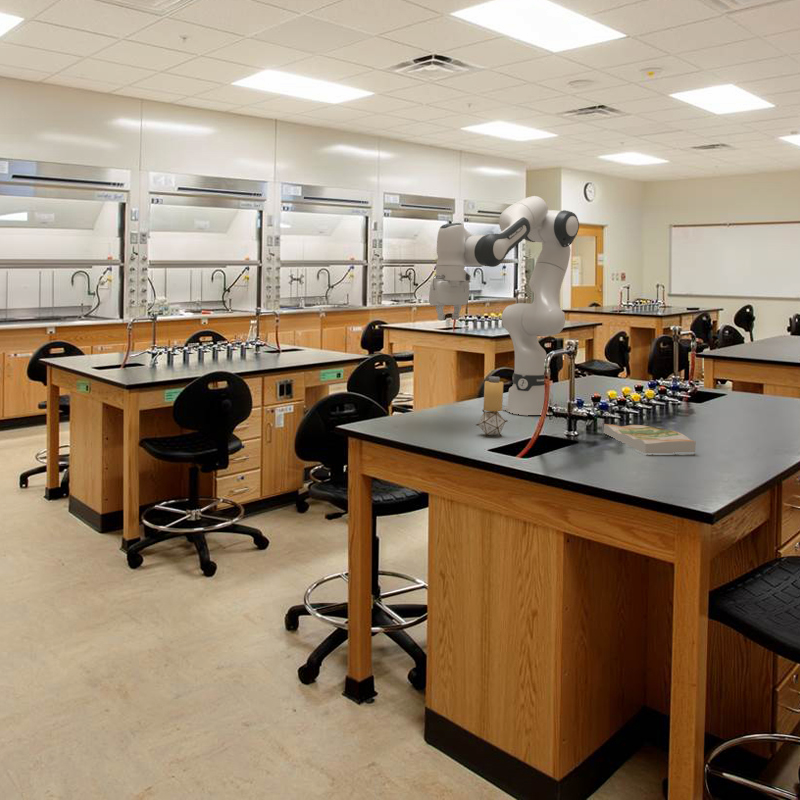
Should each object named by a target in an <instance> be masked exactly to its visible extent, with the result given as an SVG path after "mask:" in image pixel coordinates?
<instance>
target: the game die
mask: <svg viewBox="0 0 800 800" xmlns="http://www.w3.org/2000/svg"><path fill="white" fill-rule="evenodd" d="M482 412H483V413H482V415H481V417H480V419H479V422H478V423H476V424H475V426H478V427H479V428H480V429H481V430H482V431H483V433H484V434H485V438H486V437H488V435H489V436H491V435H499V437H502V434H501V433H502V430H503V428H504V425H505V424H506V423H507V422H509V420H507V419H504V417H503V416H502V415H501V414H500V413H499V411H485V410H483V409H482Z"/></svg>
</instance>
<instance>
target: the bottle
mask: <svg viewBox="0 0 800 800" xmlns="http://www.w3.org/2000/svg"><path fill="white" fill-rule="evenodd" d="M500 379H501V377H500V376H495V375H494V376H488V380H485V381H484V386H483V387H484V388H483V407H482V408H483V410H484V411H485V412H488V411H498V412H502V411H503V399H504V396H503V395H504V381H500Z"/></svg>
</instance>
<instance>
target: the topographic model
mask: <svg viewBox="0 0 800 800" xmlns="http://www.w3.org/2000/svg"><path fill="white" fill-rule="evenodd" d="M603 433H605V434H607V435H609V436H611V437H613V438H615V439H616V440H618V441H621V442H622V443H625V444H627V445H629V446H631V447H633V448H635V449H637V450H639V451H641V452H643V453H673V452H674V453H675V452H695V453H696V443H697V441H696V440H692V439H691V438H689V437H688V436H686V435H685V434H683V433H682V432H679V431H676V430H673V429H672V430H671V429H665V428H661V427H656V426H650V425H642V424H641V425H640V424H630V425H622V426H621V425H616V424H609V423H603Z"/></svg>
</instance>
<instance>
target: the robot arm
mask: <svg viewBox="0 0 800 800" xmlns="http://www.w3.org/2000/svg"><path fill="white" fill-rule="evenodd" d="M498 218H499V220H498V226H499V229H500V231H501V232H499V233H489V234H475V235H474V234H472V233H471V232H469V231H468V230H467V229H466V228H465V227H464V224H463V223H460V222H453V223H446V224H442V225H441V226H439V230H438V232H437V239H436V255H437V261H436V264H435V275H434V277H433V279H432V281H431V283H430V286H429V294H428V303H429V305H430V306H435V310H436V314H437V320H438V321H444V320H445V319H446V317H445V316H446V314H445V313H444V309H445V306H453V312H452V314H451V319H452V320H459V318H460V312H461V310H462V305H463V306H464V305H468V302H469V299H470V298H469V296H470V284H469V282H471V274H470V273H468V272H467V271H466V270H465V266H469V267H471V266H472V267H473V266H474V267H489V268H490V267H491V268H494V267H498V266H499V265H501V264H502V262H504V260H505V258H506V256H507V255H508V254H509V253H510V251H512V250H513V249H514V248H515V247H516V246H517V245H518V244H520V243H521V242H522V241H523V240H525V241H527V242H531V243H536V242H537V243H541V246H542V247H541V251H540V253H539V255H538V258H537V260H536V262H535V265H534V268H533V270H532V273H531V276H530V278H529V281H528V286H529V288H530V290H531V292H532V293H533V294H534V295H533V301H532V303H529V302H528V303H526V302H519V303H513V304H509V305H507V306H506V307H505V308H504V309H503V311H502V314H501V323H502V327H504V329H505V330H506V331H507V332H508V334H509V336H510V338H511V342H512V345H513V350H514V372H513V373H512V377H511V378H512V383H513V384H512V386H510V387H509V388H508V394H507V401H506V402H507V403H506V406H504V407H503V408H502V411H505V410H506V412H508V413H509V412H510V414H512V413H513V414H514V415H518V414H519V415H520V416H528V415H540V413H541V410H542V406H543V402H544V363H545V359H546V360H547V357H548V356H547V352H546V350H545V349H544V347H542V346H541V344H540V343H539V339H538V336H542V337H547V336H548V337H549V336H554V335H555V336H556V335H558V334H560V333H561V332H562V331H563V329H564V327H565V323H566V317H565V313H564V311H563V309H562V308H561V306H560V301H559V300H560V291H561V289H562V284H563V282H564V279H565V276H566V272H567V269H568V266H569V262H570V256H571V247H570V245H572V243H573V242H574V240H575V239H576V237H577V235H578V232H579V229H580V222H579V219H578V216H577V214H576V213H574V212H573V211H570V210H565V209H564V210H559V209H557V210H556V209H555V210H553V209H549V208H548V205H547V202H546V201H545V200H544V199H543V198H542V197H540V196H537V195H532V196H528V197H525V198H522V199H520V200H518V201H516V202H514V203H512V204H511V205H510V206H507V208H505V209H504V210H503V211H502V212H501V214H500V215H499V217H498ZM549 406H554V394H553V392H552V390H550V396H549ZM513 414H512V415H513Z"/></svg>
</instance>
